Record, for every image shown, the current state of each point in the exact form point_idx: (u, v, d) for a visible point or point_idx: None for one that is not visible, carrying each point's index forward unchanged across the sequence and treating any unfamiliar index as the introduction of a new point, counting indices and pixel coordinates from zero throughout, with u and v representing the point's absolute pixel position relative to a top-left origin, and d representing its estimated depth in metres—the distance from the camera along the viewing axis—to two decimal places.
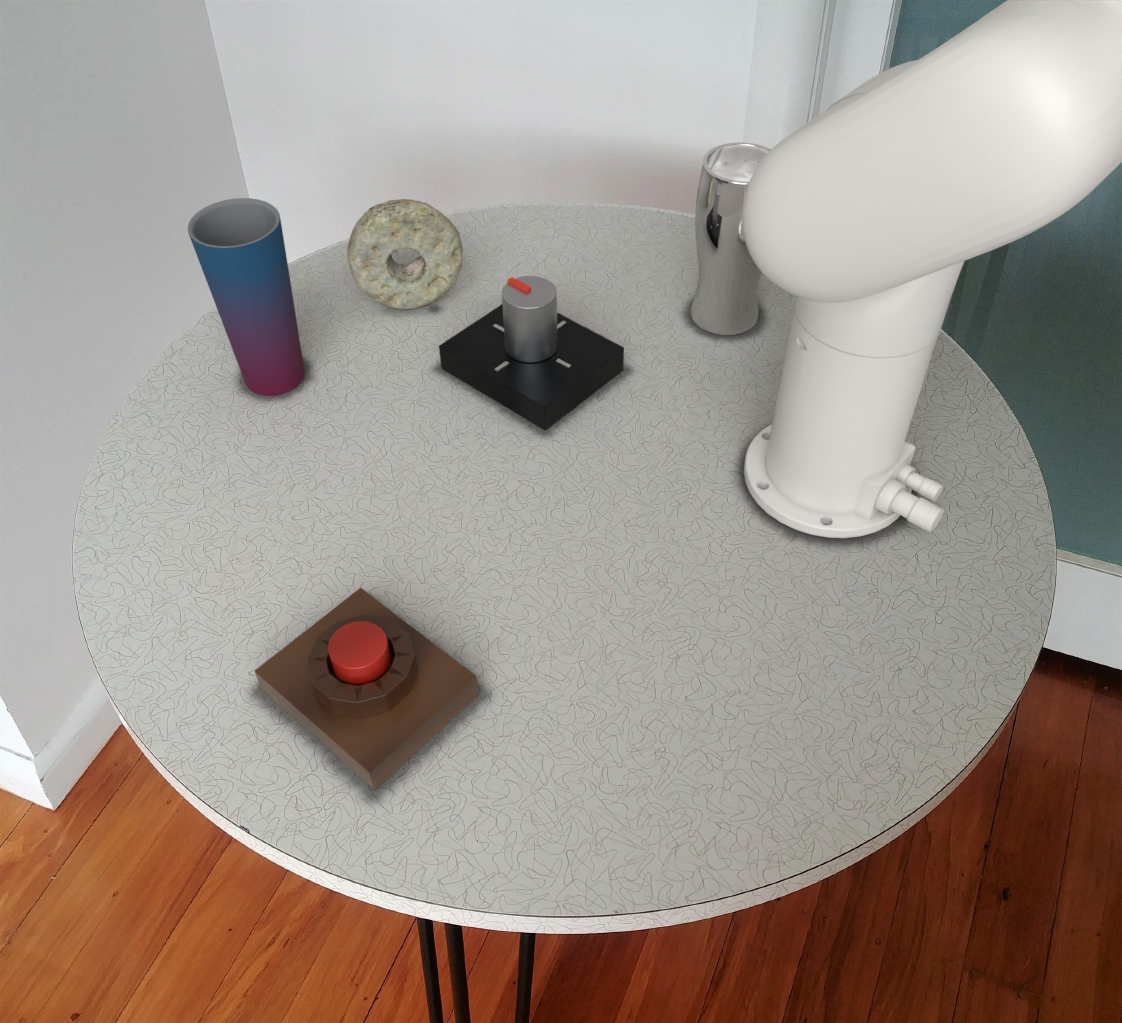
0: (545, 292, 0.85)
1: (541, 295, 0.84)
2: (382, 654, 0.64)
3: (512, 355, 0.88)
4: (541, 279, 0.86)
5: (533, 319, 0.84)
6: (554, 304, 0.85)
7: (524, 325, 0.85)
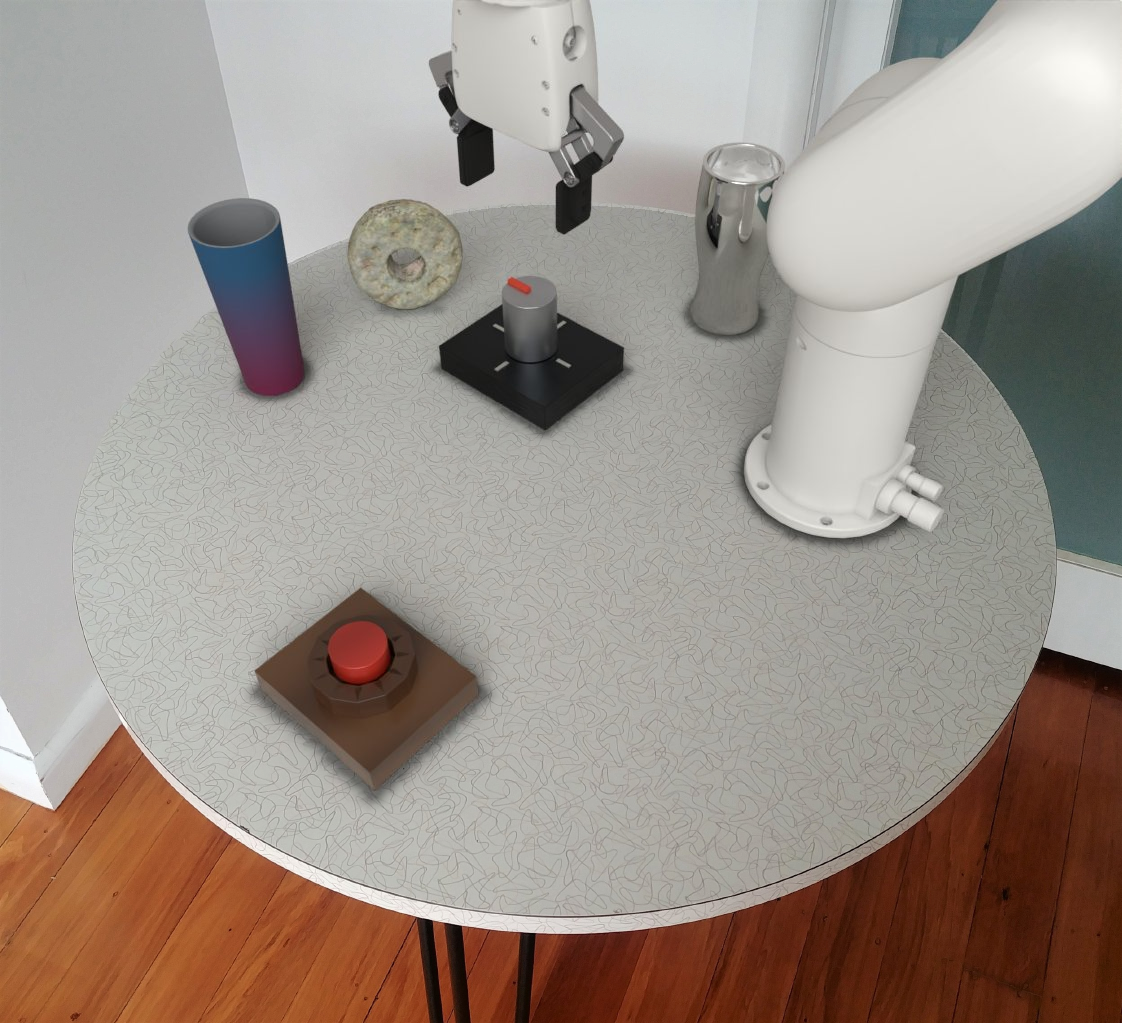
0: (545, 292, 0.85)
1: (541, 295, 0.84)
2: (382, 654, 0.64)
3: (512, 355, 0.88)
4: (541, 279, 0.86)
5: (533, 319, 0.84)
6: (554, 304, 0.85)
7: (524, 325, 0.85)
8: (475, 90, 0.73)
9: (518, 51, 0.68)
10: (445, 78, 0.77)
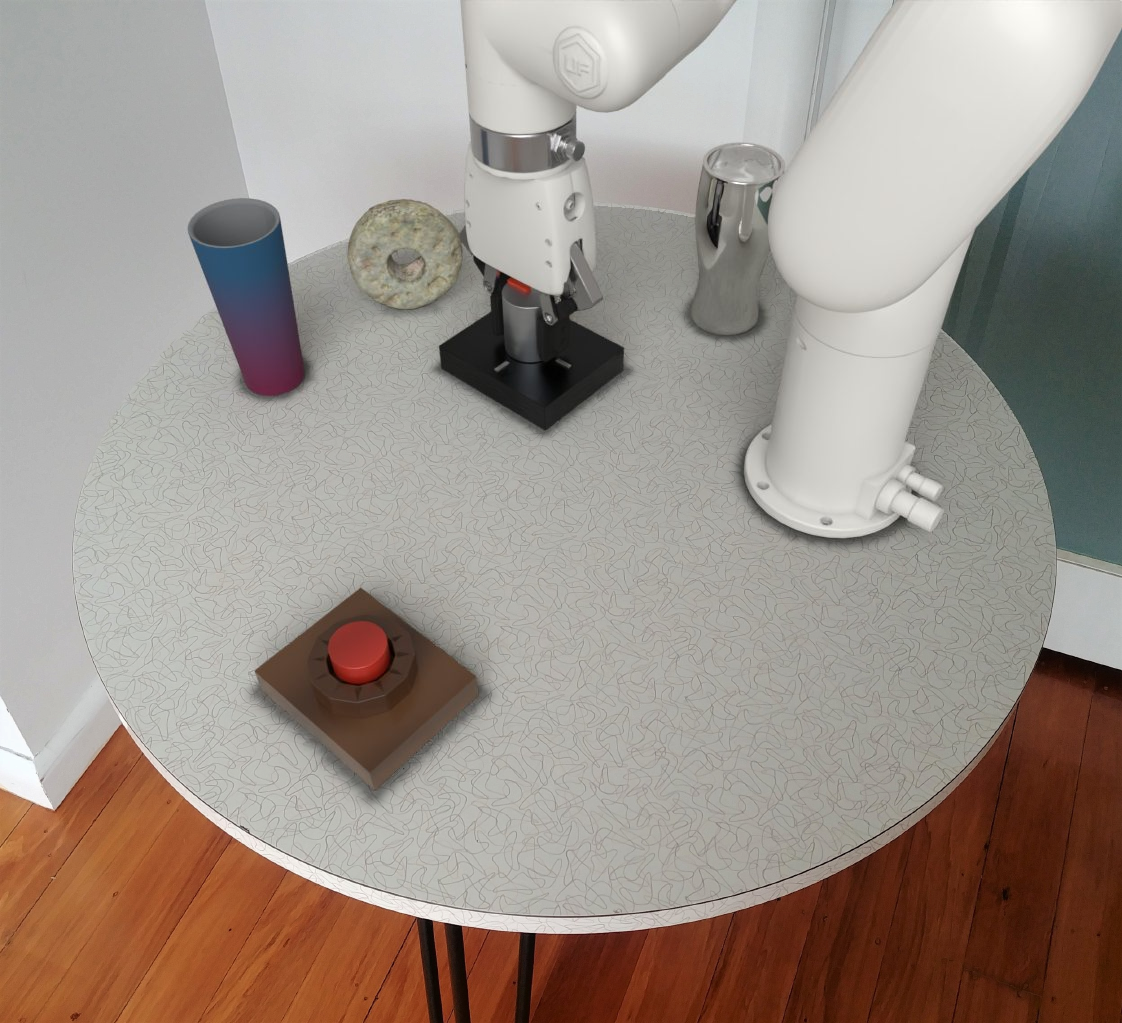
0: None
1: None
2: (382, 654, 0.64)
3: (512, 355, 0.88)
4: None
5: (532, 319, 0.84)
6: None
7: (524, 325, 0.85)
8: (486, 240, 0.81)
9: (524, 213, 0.76)
10: None
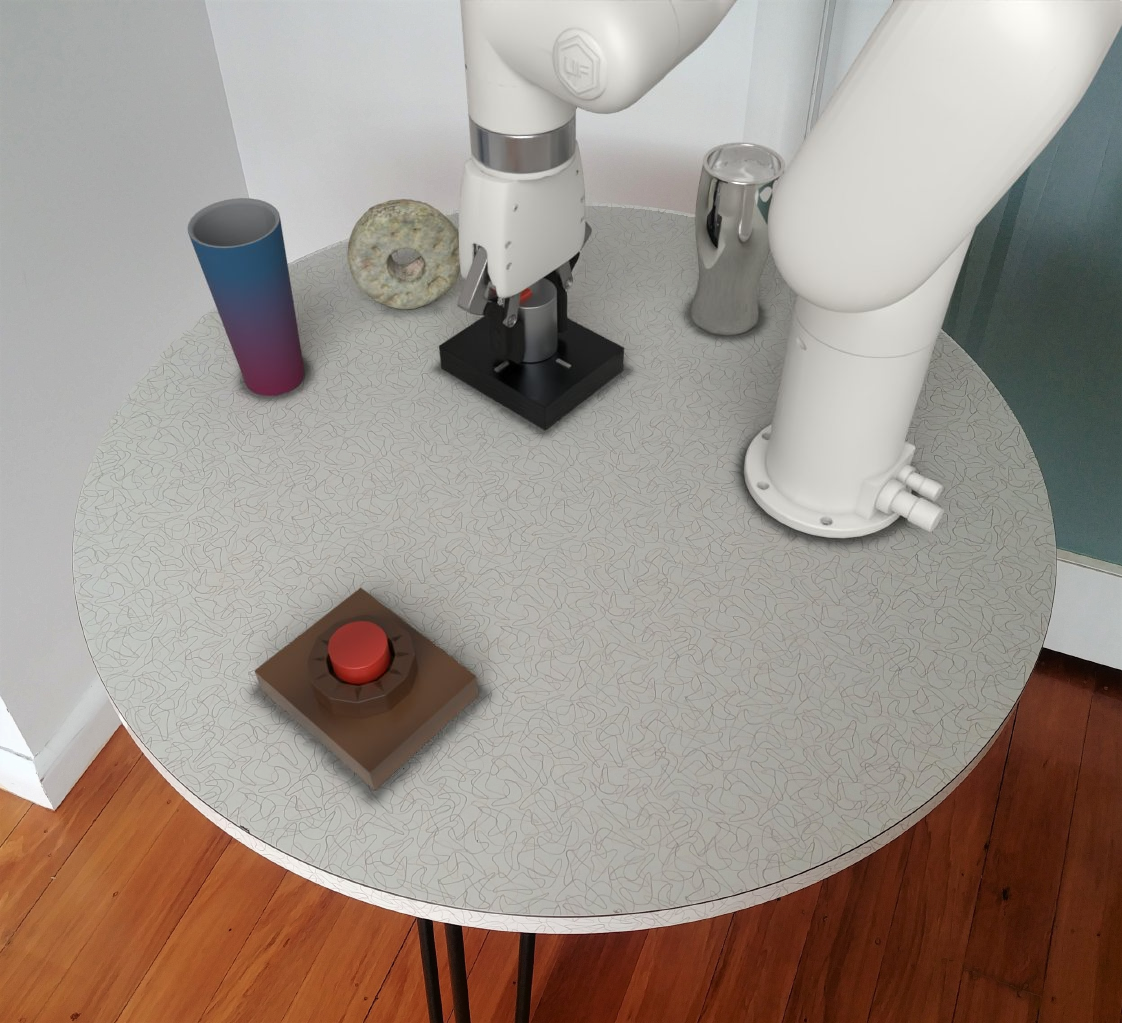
0: None
1: (535, 284, 0.86)
2: (382, 654, 0.64)
3: (550, 354, 0.88)
4: None
5: (556, 300, 0.86)
6: None
7: (556, 311, 0.86)
8: (529, 261, 0.79)
9: (567, 191, 0.78)
10: (484, 300, 0.80)
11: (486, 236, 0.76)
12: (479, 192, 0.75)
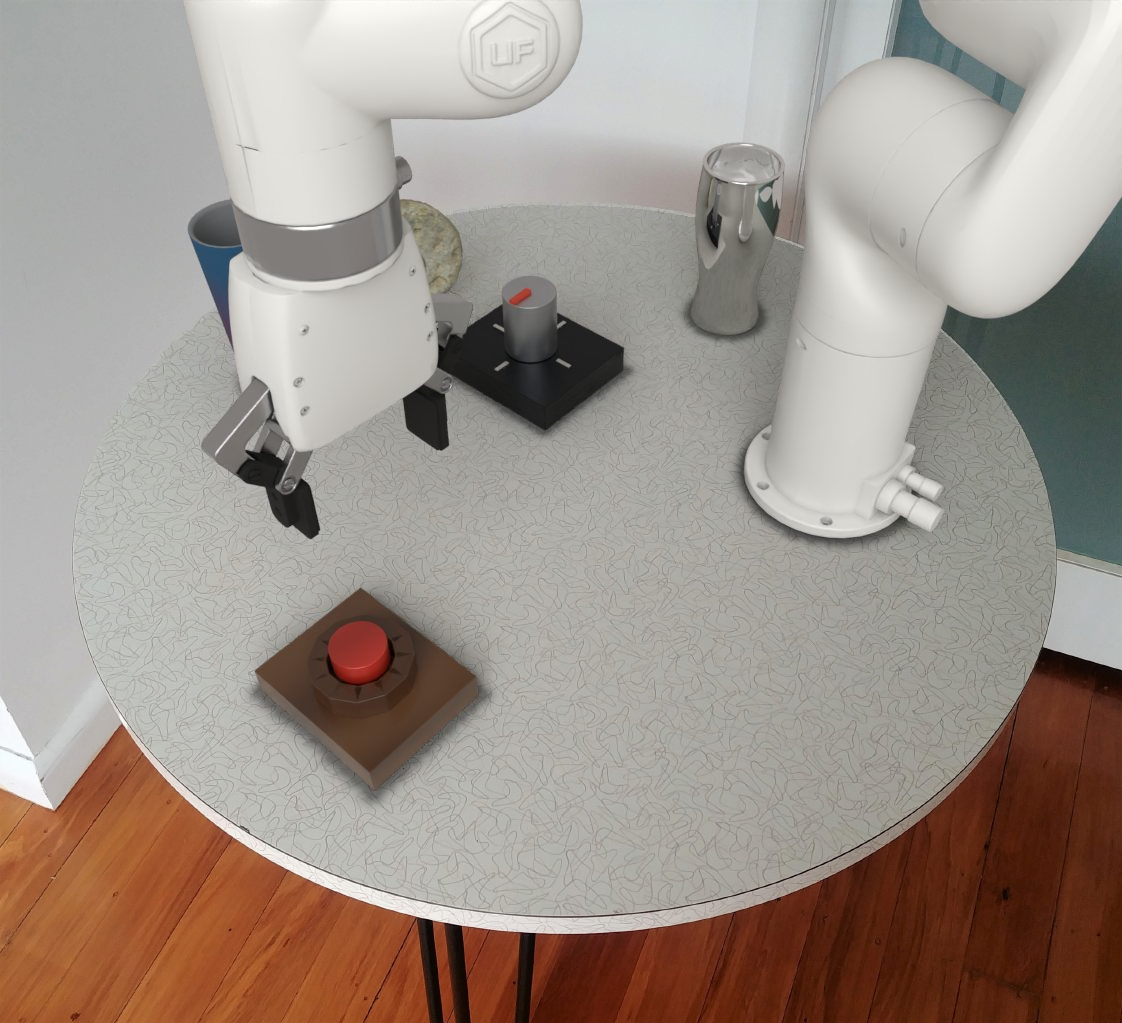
0: (530, 282, 0.86)
1: (535, 284, 0.86)
2: (382, 654, 0.64)
3: (550, 354, 0.88)
4: (507, 285, 0.85)
5: (556, 300, 0.86)
6: None
7: (556, 311, 0.86)
8: (340, 401, 0.53)
9: (398, 299, 0.52)
10: (245, 452, 0.53)
11: (266, 368, 0.51)
12: (248, 305, 0.49)
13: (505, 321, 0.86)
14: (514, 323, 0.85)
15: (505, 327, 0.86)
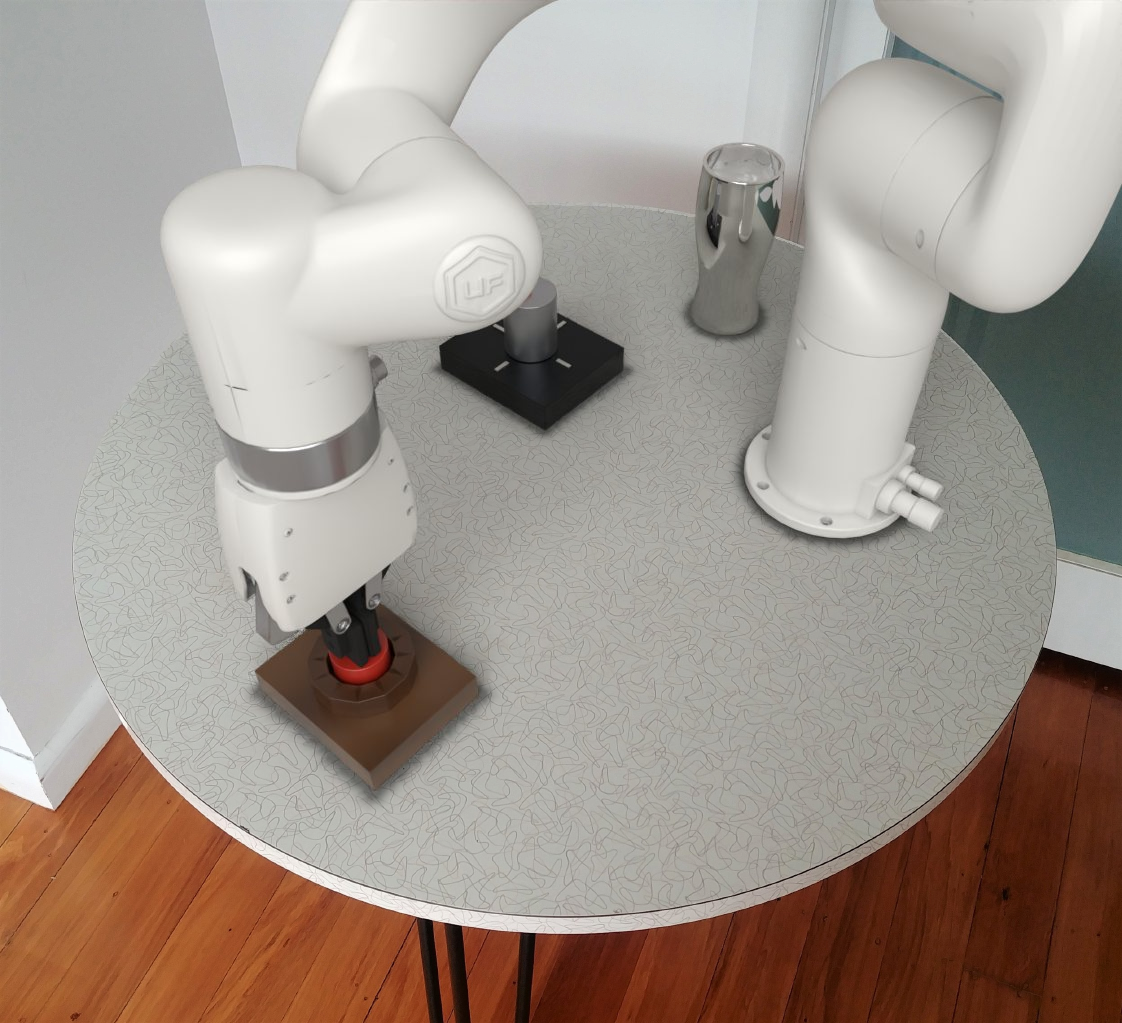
0: None
1: None
2: (383, 656, 0.64)
3: (550, 354, 0.88)
4: None
5: (556, 300, 0.86)
6: None
7: (556, 311, 0.86)
8: (325, 584, 0.55)
9: (377, 488, 0.55)
10: None
11: (252, 564, 0.53)
12: (234, 511, 0.51)
13: (505, 321, 0.86)
14: (514, 323, 0.85)
15: (505, 327, 0.86)
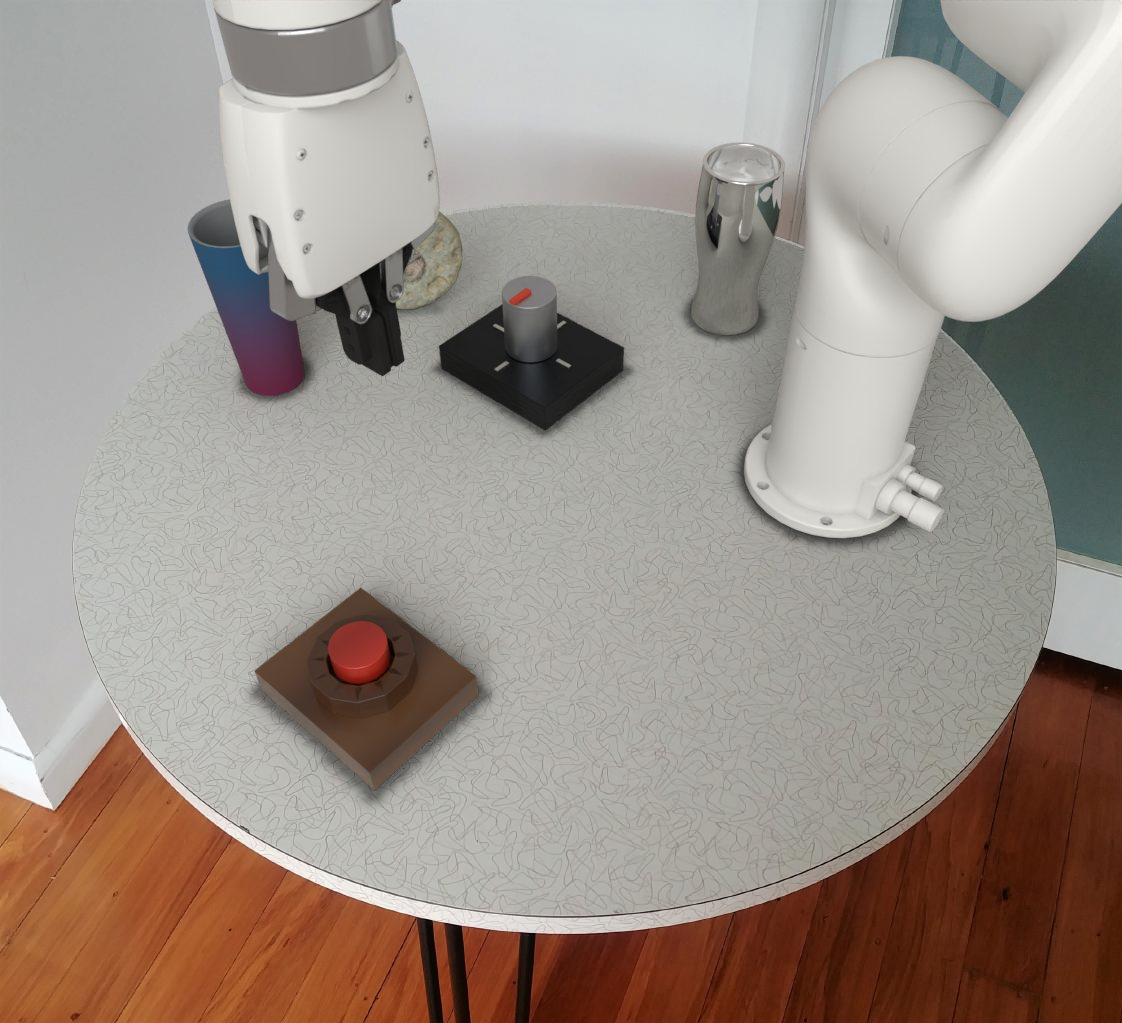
0: (530, 282, 0.86)
1: (535, 284, 0.86)
2: (382, 654, 0.64)
3: (550, 354, 0.88)
4: (507, 285, 0.85)
5: (556, 300, 0.86)
6: None
7: (556, 311, 0.86)
8: (343, 240, 0.51)
9: (396, 128, 0.50)
10: None
11: (264, 202, 0.48)
12: (242, 131, 0.47)
13: (505, 321, 0.86)
14: (514, 323, 0.85)
15: (505, 327, 0.86)
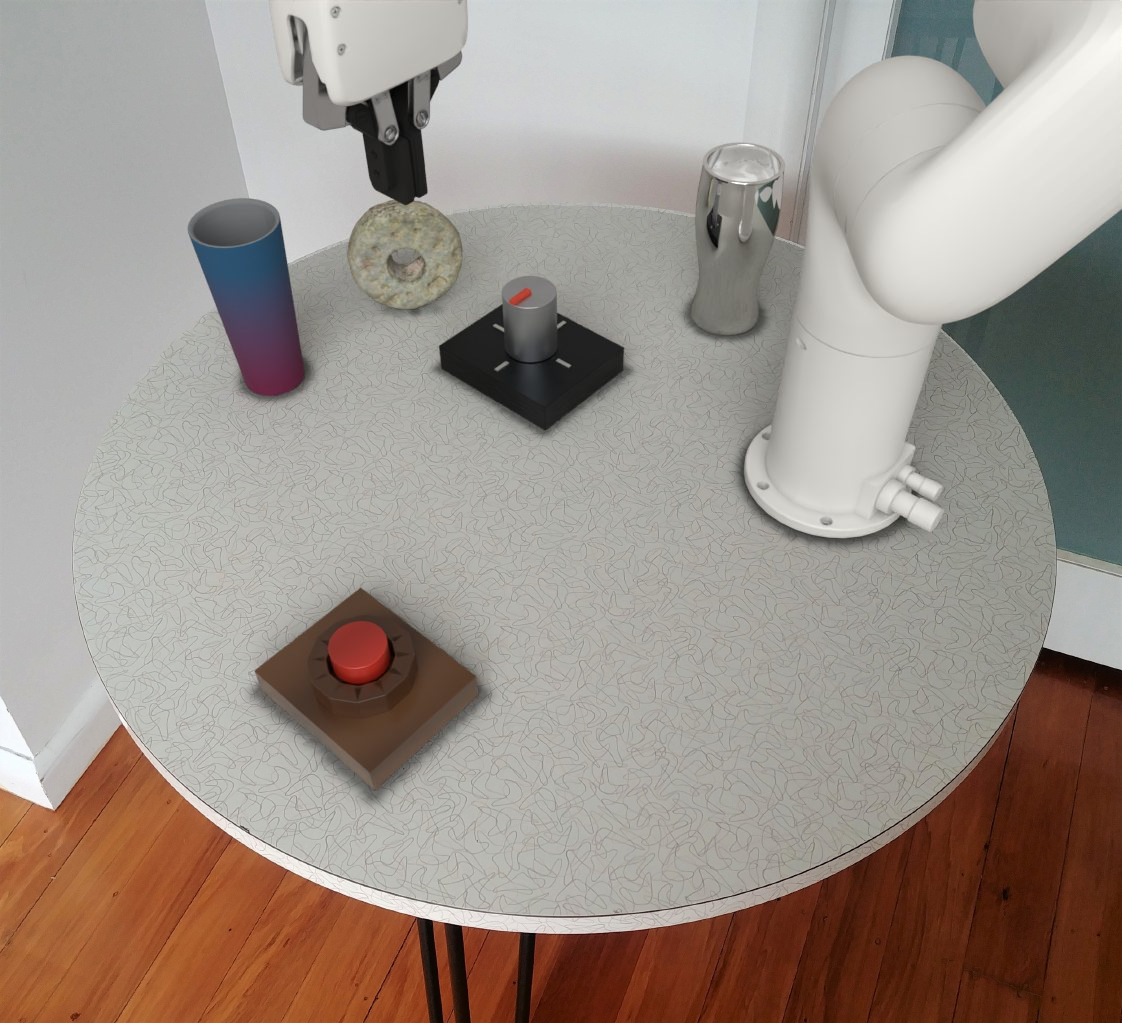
0: (530, 282, 0.86)
1: (535, 284, 0.86)
2: (382, 654, 0.64)
3: (550, 354, 0.88)
4: (507, 285, 0.85)
5: (556, 300, 0.86)
6: None
7: (556, 311, 0.86)
8: (375, 47, 0.54)
9: None
10: None
11: None
12: None
13: (505, 321, 0.86)
14: (514, 323, 0.85)
15: (505, 327, 0.86)
